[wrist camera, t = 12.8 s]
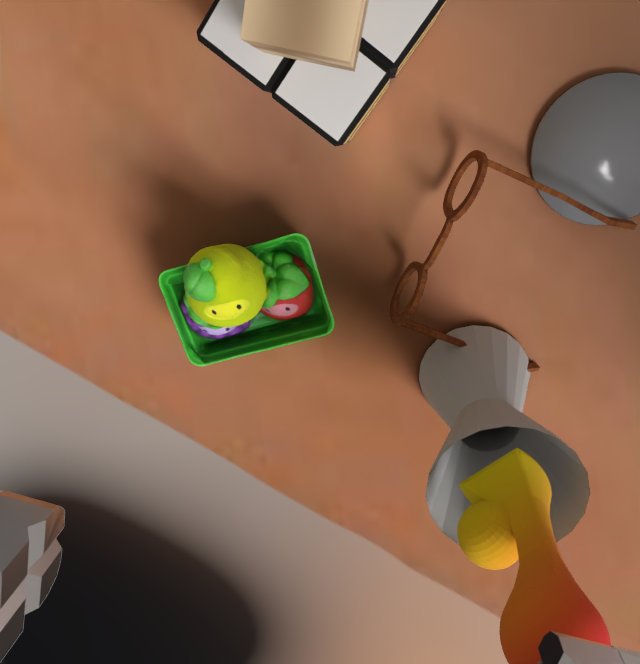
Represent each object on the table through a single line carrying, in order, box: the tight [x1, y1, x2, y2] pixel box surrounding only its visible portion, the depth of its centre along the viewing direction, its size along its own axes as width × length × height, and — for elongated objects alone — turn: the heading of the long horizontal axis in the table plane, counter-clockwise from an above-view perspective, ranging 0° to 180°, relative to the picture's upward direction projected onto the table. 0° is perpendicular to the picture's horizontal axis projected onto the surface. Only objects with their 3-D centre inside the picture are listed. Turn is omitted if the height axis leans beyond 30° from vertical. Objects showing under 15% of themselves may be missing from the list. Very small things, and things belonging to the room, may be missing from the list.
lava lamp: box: [419, 325, 611, 664], centre depth 32 cm, size 9×9×35 cm
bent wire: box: [390, 150, 637, 372], centre depth 42 cm, size 13×13×5 cm
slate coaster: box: [530, 73, 640, 225], centre depth 41 cm, size 10×10×1 cm
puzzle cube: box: [197, 0, 447, 146], centre depth 36 cm, size 10×10×10 cm
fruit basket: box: [159, 233, 335, 366], centre depth 42 cm, size 11×9×11 cm
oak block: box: [240, 0, 369, 72], centre depth 29 cm, size 5×5×6 cm
